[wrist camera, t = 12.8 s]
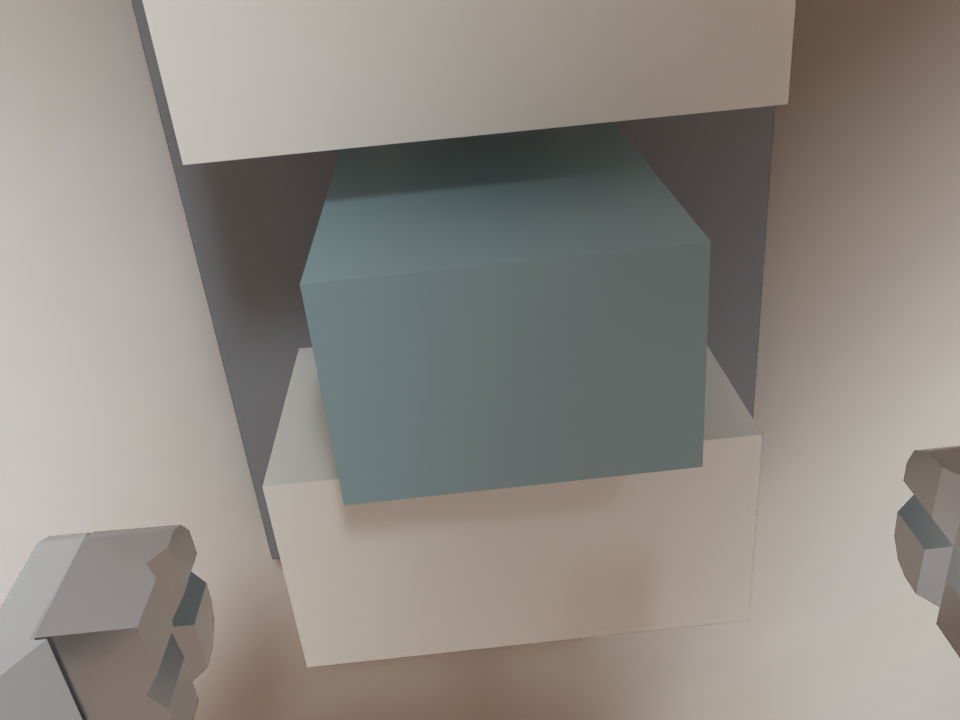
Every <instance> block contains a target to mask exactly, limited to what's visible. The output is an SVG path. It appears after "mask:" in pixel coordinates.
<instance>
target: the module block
mask: <svg viewBox="0 0 960 720" xmlns="http://www.w3.org/2000/svg"><path fill="white" fill-rule="evenodd" d="M710 246H711V241H710V240H709V239H708V237H707V236H706V235H705V234H704V232H703V231H702V230H701V229H700V228H699V226H698V225H697V224H696V223H695V221H694V220H693V219H692V218H691V216H690V215H689V214H688V213H687V212H686V210H685V209H684V208H683V207H682V205H681V204H680V203H679V202H678V201H677V199H676V198H675V197H674V196H673V194H672V193H671V192H670V191H669V190H668V188H667V187H666V186H665V185H664V183H663V182H662V181H661V180H660V178H659V177H658V176H657V175H656V174H655V172H654V171H653V170H652V169H651V167H650V166H649V165H648V164H647V163H646V161H645V160H644V159H643V158H642V156H641V155H640V154H639V153H638V152H637V150H636V149H635V148H634V147H633V145H632V144H631V143H630V142H629V141H628V139H627V138H626V137H625V136H624V134H623V133H622V132H621V131H620V129H619V128H618V127H617V126H616V125H615V123H614V122H606V123H596V124H587V125H577V126H567V127H557V128H547V129H537V130H527V131H517V132H507V133H497V134H487V135H477V136H467V137H457V138H447V139H437V140H427V141H417V142H407V143H398V144H388V145H378V146H368V147H358V148H348V149H341V150H340V153H339V157H338V160H337V163H336V166H335V170H334V173H333V176H332V180H331V183H330V186H329V190H328V193H327V196H326V199H325V203H324V206H323V209H322V213H321V216H320V219H319V223H318V226H317V229H316V232H315V236H314V239H313V242H312V246H311V249H310V252H309V256H308V259H307V262H306V266H305V269H304V272H303V275H302V279H301V282H300V288H301V293H302V298H303V303H304V308H305V313H306V318H307V323H308V328H309V333H310V338H311V343H312V348H313V353H314V358H315V363H316V368H317V373H318V378H319V383H320V388H321V393H322V398H323V403H324V408H325V413H326V418H327V423H328V428H329V433H330V438H331V443H332V448H333V453H334V458H335V463H336V468H337V473H338V478H339V483H340V488H341V493H342V498H343V503H344V505H353V504H362V503H371V502H381V501H390V500H399V499H409V498H418V497H427V496H436V495H446V494H455V493H464V492H474V491H483V490H492V489H501V488H511V487H520V486H529V485H539V484H548V483H557V482H566V481H576V480H585V479H594V478H604V477H613V476H622V475H631V474H641V473H650V472H659V471H669V470H678V469H687V468H696V467H703V442H704V414H705V386H706V358H707V330H708V302H709V274H710Z"/></svg>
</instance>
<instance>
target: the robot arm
mask: <svg viewBox="0 0 960 720" xmlns="http://www.w3.org/2000/svg"><path fill="white" fill-rule="evenodd" d="M904 482H905V483H906V484H907V486H908V487H909V488H910V490H911V491H912V492H913V494H914V495H913V496H912V497H911V498H910V500H909V501H908V502H907V503H906V504H905V505H904V506H903V507H902V508H901V509H900V510H899V511H898V513H897V520H896V527H895V535H894V537H895V543H896V550H897V556H898V561H899V563H900V566H901V568H902V570H903V573H904V575H905V577H906V579H907V581H908V582H909V584H910V585H911V587H912V588H913V590H914V591H915V593H916V594H917V595H919V596H921V597H923V598H925V599H926V600H928V601H930V602H932V603H933V604H935V605H937V606H939V607H940V609H939V614H938V618H937V623H936V624H937V625H938V627H939V628H940V630H941V631H942V633H943V634H944V636H945V637H946V639H947V640H948V641H949V643H950V644H951V646H952V647H953V649H954V650H955V652H956V653H957V655H958V656H959V657H960V446H952V447H943V448H933V449H924V450H915V451H914V452H913V454H912V455H911V457H910V458H909V460H908V462H907V465H906V470H905V475H904ZM196 554H197V552H196V549H195V546H194V543H193V540H192V538H191V535H190V532H189V530H188V529H186V528H185V527H183V526H182V525H173V526H160V527H148V528H135V529H123V530H110V531H98V532H93V533H79V534H68V535H57V536H49V537H47V538H45V539H44V540H42V541H40V542H39V543H38V544H37V545H36V547H35V549H34V551H33V552H32V554H31V556H30V558H29V559H28V561H27V563H26V565H25V566H24V568H23V570H22V572H21V573H20V575H19V577H18V578H17V580H16V582H15V584H14V585H13V587H12V589H11V591H10V592H9V594H8V596H7V598H6V599H5V601H4V603H3V605H2V606H1V608H0V720H194V716H195V712H196V709H197V705H198V701H199V700H198V697H197V694H196V691H195V688H194V685H193V681H194V680H195V679H196V678H197V677H198V676H199V675H200V674H201V673H202V672H203V671H204V670H205V669H206V668H207V667H208V663H209V659H210V655H211V651H212V647H213V631H214V616H213V609H212V601H211V597H210V594H209V590H208V587H207V584H206V582H204V581H203V580H202V579H200V578H199V577H198V576H196V575H195V574H194V573H192V572H191V570H192V567H193V564H194V561H195V557H196Z"/></svg>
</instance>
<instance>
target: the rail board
mask: <svg viewBox="0 0 960 720" xmlns="http://www.w3.org/2000/svg"><path fill="white" fill-rule="evenodd" d="M131 1H132V5H133V9H134V13H135V17H136V21H137V25H138V29H139V33H140V37H141V41H142V45H143V49H144V53H145V57H146V61H147V64H148V68H149V72H150V76H151V80H152V84H153V88H154V92H155V96H156V100H157V104H158V108H159V112H160V116H161V120H162V124H163V128H164V132H165V136H166V140H167V144H168V148H169V152H170V156H171V160H172V164H173V167H174V171H175V175H176V179H177V183H178V187H179V191H180V195H181V199H182V203H183V207H184V211H185V215H186V219H187V223H188V227H189V231H190V235H191V239H192V243H193V247H194V251H195V255H196V259H197V263H198V267H199V270H200V274H201V278H202V282H203V286H204V290H205V294H206V298H207V302H208V306H209V310H210V314H211V318H212V322H213V326H214V330H215V334H216V338H217V342H218V346H219V350H220V354H221V358H222V362H223V366H224V369H225V373H226V377H227V381H228V385H229V389H230V393H231V397H232V401H233V405H234V409H235V413H236V417H237V421H238V425H239V429H240V433H241V437H242V441H243V445H244V449H245V453H246V457H247V461H248V465H249V469H250V472H251V476H252V480H253V484H254V488H255V492H256V496H257V500H258V504H259V508H260V512H261V516H262V520H263V524H264V528H265V532H266V536H267V540H268V544H269V548H270V552H271V556H272V559H280V560H281V564H282V568H283V572H284V576H285V580H286V584H287V589H288V593H289V597H290V601H291V605H292V609H293V613H294V617H295V621H296V625H297V629H298V633H299V637H300V641H301V645H302V649H303V653H304V657H305V661H306V665H307V667H316V666H326V665H335V664H344V663H354V662H363V661H372V660H382V659H391V658H400V657H410V656H419V655H428V654H438V653H447V652H456V651H465V650H475V649H484V648H493V647H503V646H512V645H521V644H531V643H540V642H549V641H559V640H568V639H577V638H587V637H596V636H605V635H615V634H624V633H633V632H643V631H652V630H661V629H671V628H680V627H689V626H699V625H708V624H717V623H727V622H736V621H745V620H749V609H750V595H751V582H752V569H753V556H754V543H755V530H756V517H757V504H758V491H759V478H760V465H761V452H762V438H763V434H762V432H761V431H760V429H759V428H758V426H757V424H756V423H755V421H754V420H753V409H754V395H755V381H756V366H757V352H758V337H759V323H760V309H761V294H762V280H763V266H764V251H765V237H766V222H767V208H768V194H769V179H770V165H771V150H772V136H773V122H774V107H775V105H785V104H788V98H789V85H790V72H791V59H792V46H793V33H794V20H795V7H796V0H131ZM606 122H614V123H615V125H616V126H617V127H618V128H619V129H620V131H621V132H622V133H623V134H624V136H625V137H626V138H627V139H628V141H629V142H630V143H631V144H632V145H633V147H634V148H635V149H636V150H637V152H638V153H639V154H640V155H641V156H642V158H643V159H644V160H645V161H646V163H647V164H648V165H649V166H650V167H651V169H652V170H653V171H654V172H655V174H656V175H657V176H658V177H659V178H660V180H661V181H662V182H663V183H664V185H665V186H666V187H667V188H668V190H669V191H670V192H671V193H672V194H673V196H674V197H675V198H676V199H677V201H678V202H679V203H680V204H681V205H682V207H683V208H684V209H685V210H686V212H687V213H688V214H689V215H690V216H691V218H692V219H693V220H694V221H695V223H696V224H697V225H698V226H699V228H700V229H701V230H702V231H703V232H704V234H705V235H706V236H707V237H708V239H709V240H710V241H711V246H710V274H709V302H708V330H707V358H706V386H705V414H704V442H703V467H696V468H687V469H678V470H669V471H659V472H650V473H641V474H631V475H622V476H613V477H604V478H594V479H585V480H576V481H566V482H557V483H548V484H539V485H529V486H520V487H511V488H501V489H492V490H483V491H474V492H464V493H455V494H446V495H436V496H427V497H418V498H409V499H399V500H390V501H381V502H371V503H362V504H353V505H344V503H343V498H342V493H341V488H340V483H339V478H338V473H337V468H336V463H335V458H334V453H333V448H332V443H331V438H330V433H329V428H328V423H327V418H326V413H325V408H324V403H323V398H322V393H321V388H320V383H319V378H318V373H317V368H316V363H315V358H314V353H313V348H312V343H311V338H310V333H309V328H308V323H307V318H306V313H305V308H304V303H303V298H302V293H301V288H300V282H301V279H302V275H303V272H304V269H305V266H306V262H307V259H308V256H309V252H310V249H311V246H312V242H313V239H314V236H315V232H316V229H317V226H318V223H319V219H320V216H321V213H322V209H323V206H324V203H325V199H326V196H327V193H328V190H329V186H330V183H331V180H332V176H333V173H334V170H335V166H336V163H337V160H338V157H339V153H340V150H341V149H348V148H358V147H368V146H378V145H388V144H398V143H407V142H417V141H427V140H437V139H447V138H457V137H467V136H477V135H487V134H497V133H507V132H517V131H527V130H537V129H547V128H557V127H567V126H577V125H587V124H596V123H606Z"/></svg>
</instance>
